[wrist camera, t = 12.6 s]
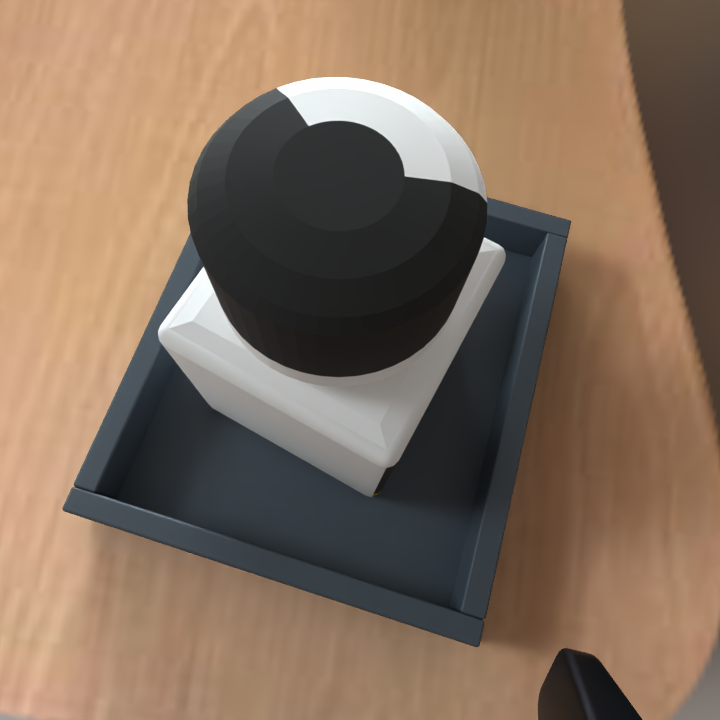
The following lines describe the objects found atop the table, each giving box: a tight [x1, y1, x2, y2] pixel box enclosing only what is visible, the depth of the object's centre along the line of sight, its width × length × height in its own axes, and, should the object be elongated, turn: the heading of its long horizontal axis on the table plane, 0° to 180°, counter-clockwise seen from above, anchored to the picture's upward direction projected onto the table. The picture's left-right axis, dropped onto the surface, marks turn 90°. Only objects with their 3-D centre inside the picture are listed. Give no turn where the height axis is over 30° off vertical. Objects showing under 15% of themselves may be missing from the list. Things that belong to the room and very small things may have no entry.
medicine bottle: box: [158, 77, 506, 497], centre depth 17 cm, size 7×7×12 cm
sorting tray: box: [63, 197, 571, 647], centre depth 22 cm, size 16×14×2 cm
